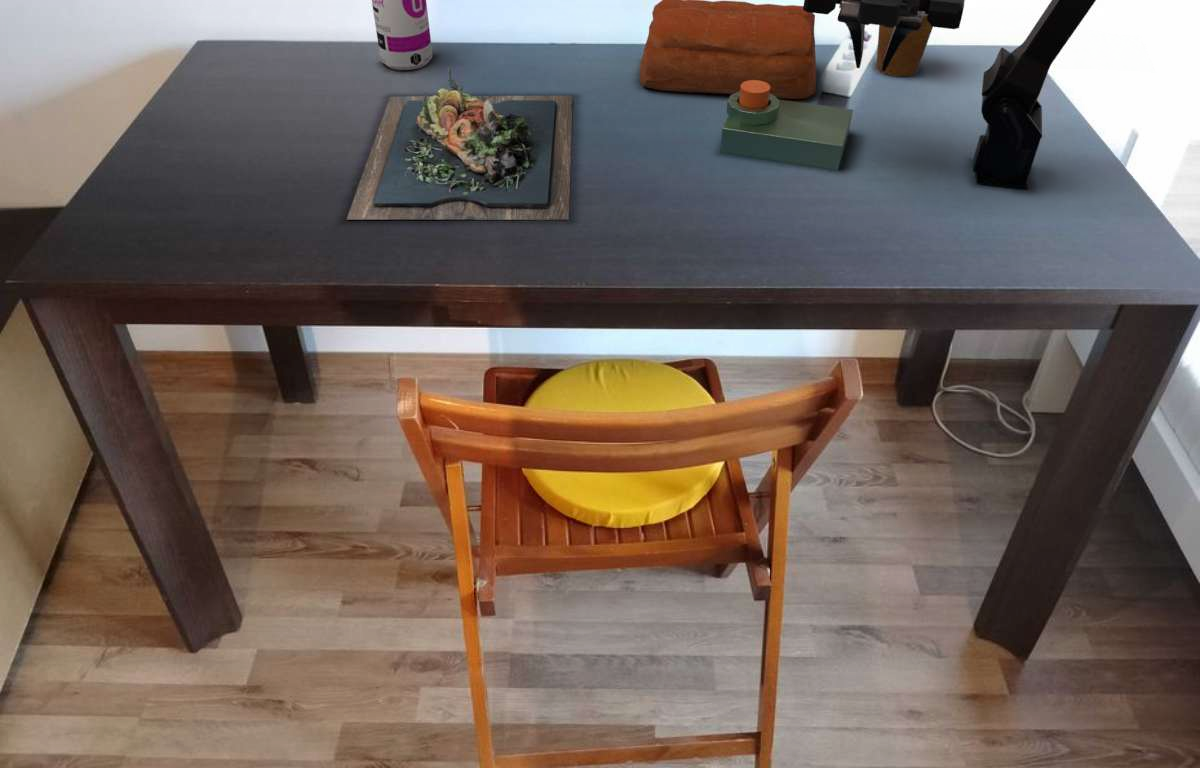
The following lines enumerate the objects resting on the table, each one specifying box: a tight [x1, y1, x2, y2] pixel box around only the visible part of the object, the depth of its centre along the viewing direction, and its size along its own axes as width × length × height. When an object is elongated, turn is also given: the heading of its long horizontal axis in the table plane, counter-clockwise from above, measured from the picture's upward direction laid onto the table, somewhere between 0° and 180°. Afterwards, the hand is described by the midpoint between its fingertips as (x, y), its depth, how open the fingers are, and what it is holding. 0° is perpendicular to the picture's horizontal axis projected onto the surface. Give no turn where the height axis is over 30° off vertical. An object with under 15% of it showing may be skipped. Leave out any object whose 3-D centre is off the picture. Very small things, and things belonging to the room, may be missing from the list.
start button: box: [739, 80, 770, 109], centre depth 133 cm, size 4×4×3 cm
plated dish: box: [346, 66, 574, 221], centre depth 132 cm, size 35×28×7 cm
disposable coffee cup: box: [876, 14, 934, 77], centre depth 150 cm, size 10×10×12 cm
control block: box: [719, 91, 854, 172], centre depth 134 cm, size 16×11×6 cm
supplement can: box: [371, 0, 433, 71], centre depth 151 cm, size 8×8×15 cm
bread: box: [638, 0, 817, 100], centre depth 148 cm, size 16×27×11 cm, turn 81°
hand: (870, 68), depth 126 cm, fingers open, 3 cm apart
